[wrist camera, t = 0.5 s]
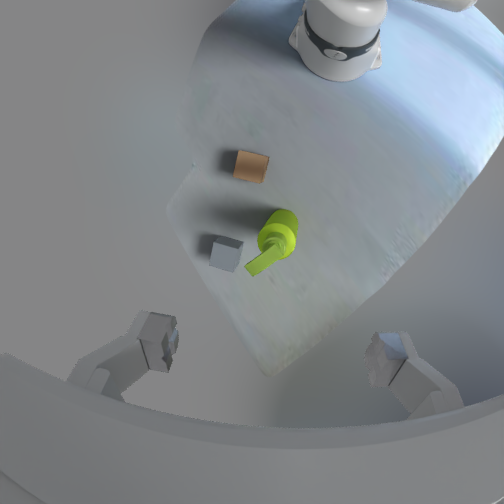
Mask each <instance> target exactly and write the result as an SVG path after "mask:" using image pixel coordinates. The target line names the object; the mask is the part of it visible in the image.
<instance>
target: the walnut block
mask: <svg viewBox="0 0 504 504" xmlns="http://www.w3.org/2000/svg"><path fill="white" fill-rule="evenodd" d="M268 162H269V157H267V156H263V155H259V154H255V153H250V152H246V151H240V150H239V152H238V156H237V160H236V165H235V169H234V173H233V177H235V178H239V179H243V180H248V181H252V182H256V183H262V182H264V178H265V174H266V170H267V166H268Z"/></svg>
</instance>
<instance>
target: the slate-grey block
mask: <svg viewBox="0 0 504 504" xmlns="http://www.w3.org/2000/svg"><path fill="white" fill-rule="evenodd" d="M243 243H244V242H242V241H238V240H235V239H231V238H228V237H224V236H220V237H219V238H218V239H216V240H215V241H214V242H213V247H212V253H211V258H210V263H209V265H210V266H213V267H216V268H219V269H223V270H226V271H229V272H234V270H235V269H236V267H237V266H238V264H239V260H240V256H241V252H242V248H243Z"/></svg>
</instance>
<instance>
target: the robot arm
mask: <svg viewBox="0 0 504 504" xmlns="http://www.w3.org/2000/svg"><path fill="white" fill-rule="evenodd" d="M413 1H415V2H419V3H423V4H427V5H431V6H434V7H438V8H441V9H445V10H449V11H452V12H460V11H463V10H466V9H468V8H470V7H471V6H473V5H474V4H475V3H476V2H477V0H413ZM302 12H303V14H302V16H299V19H298V23H297V24H296V26H295V28H294V30H293V32H292V33H291V35H290V37H289V44H290V45H291V46H292V47H293V48H294V49H295V50H297V51H298V53H299V54H300V56H301V58H302V60H303V62H304V63H305V65H306V66H307V67H308V68H309V69H310V70H311V71H312V72H314V73H315V74H317V75H318V76H320V77H322V78H325V79H328V80H331V81H339V82H344V81H351V80H354V79H356V78H358V77H360V76H362V75H363V74H364V73H365V72H367V71H369V70H375V69H378V68H380V67H381V64H382V59H381V46H380V36H379V32H380V26H381V25H382V23H383V21H384V19H385V17H386V15H387V2H386V0H305V3H304V4H303V7H302ZM295 36H296V37H295ZM376 58H377V59H376ZM176 324H177V322H176V317H175V316H171V315H165V314H159V313H154V312H148V311H143V310H141V311H139V312H138V314H137V315H136V317H135V319H134V321H133V322H132V324H131V326H130V328H129V329H128V331H127V333H126V335H125V336H120V337H119V338H117V339H115V340H113V341H111V342H110V343H108V344H106V345H104V346H103V347H101V348H99V349H97V350H95V351H94V352H92V353H90V354H88V355H86V356H85V357H83V358H81V359H79V361H78V362H77V364H76V366H75V367H74V369H73V370H72V372H71V374H70V376H69V377H68V379H67V381H64V380H62V379H60V378H57V377H55V376H53V375H51V374H48V373H46V372H44V371H42V370H40V369H38V368H36V367H34V366H31V365H30V364H27V363H26V362H24V361H22V360H20V359H18V358H16V357H15V356H13V355H11V354H8V353H4V354H0V504H504V394H503V395H500V396H498V397H495V398H492V399H489V400H486V401H483V402H480V403H477V404H474V405H470V406H467V407H464V404H463V402H462V399H461V397H460V394H459V392H458V390H457V387H456V386H455V385H454V384H453V383H451V382H450V381H449V380H448V379H447V378H445V377H444V376H443V375H442V374H441V373H439V372H438V371H437V370H436V369H434V368H433V367H432V366H431V365H429V364H428V363H427V362H426V361H425V360H423V359H422V358H419V357H418V355H417V353H416V350H415V348H414V345H413V343H412V341H411V339H410V337H409V334H408V333H407V332H375V333H374V334H373V336H372V338H371V339H372V343H371V344H370V345H369V346H368V347H367V349H366V352H365V357H364V358H365V365H366V367H367V368H368V369H369V370H370V372H369V374H368V377H369V381H370V385H371V387H387V386H389V387H388V388H389V389H390V390H391V391H392V392H393V394H394V395H395V396H396V397H397V398H398V400H399V401H400V402H401V403H402V404H403V405H404V407H405V408H406V409H407V410H408V411H409V412H410V414H411V415H410V416H409V418H408V419H407V420H405V421H399V422H392V423H384V424H376V425H366V426H356V427H339V428H274V427H259V426H247V425H237V424H228V423H220V422H214V421H207V420H200V419H195V418H189V417H184V416H179V415H174V414H169V413H165V412H161V411H156V410H152V409H148V408H144V407H141V406H137V405H133V404H130V403H126V402H125V401H124V399H123V397H122V396H121V393H122V392H123V391H125V390H126V389H127V388H128V387H129V386H131V385H132V384H133V383H135V382H136V381H137V380H138V379H139V378H141V377H142V376H143V375H144V374H145V373H147V372H148V371H149V369H150V370H156V371H161V372H167V373H168V372H169V370H170V367H171V364H172V361H173V359H172V355H173V354H174V353H176V350H177V347H178V341H179V337H178V336H179V335H178V331H177V330H176V328H175V327H176Z"/></svg>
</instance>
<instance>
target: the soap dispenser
mask: <svg viewBox="0 0 504 504" xmlns="http://www.w3.org/2000/svg"><path fill="white" fill-rule="evenodd" d="M297 230H298V220H297V217H296V216H295V215H294V213H292V212H291V211H289V210H285V209H281V210H277V211H275V212H274V213H273V214H272V215H271V216H270V218H269V219H268V221H267V222H266V224H265V225H264V226H263V228H262V229H261V231H260V233H259V235H258V240H257V242H258V247H259V249H260V251H261V252H262V253H261V254H260V255H259V256H257V257H256V258H254V259H253V260H252V261H250V262H249V263H247V264H246V265H245V266H244V267H245V268H246V269H247V271H248V272H249V273H250V274H251V275H252V276H255V275H256V274H258V273H260V272H261V271H263V270H264V269H266V268H267V267H269V266H270V265H271V264H273V263H274V262H275V261H277V260H281V259H284V258H286V257H288V256H289V255H290V254H291V253H292V252H293V250H294V248H295V244H296V237H297Z"/></svg>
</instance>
